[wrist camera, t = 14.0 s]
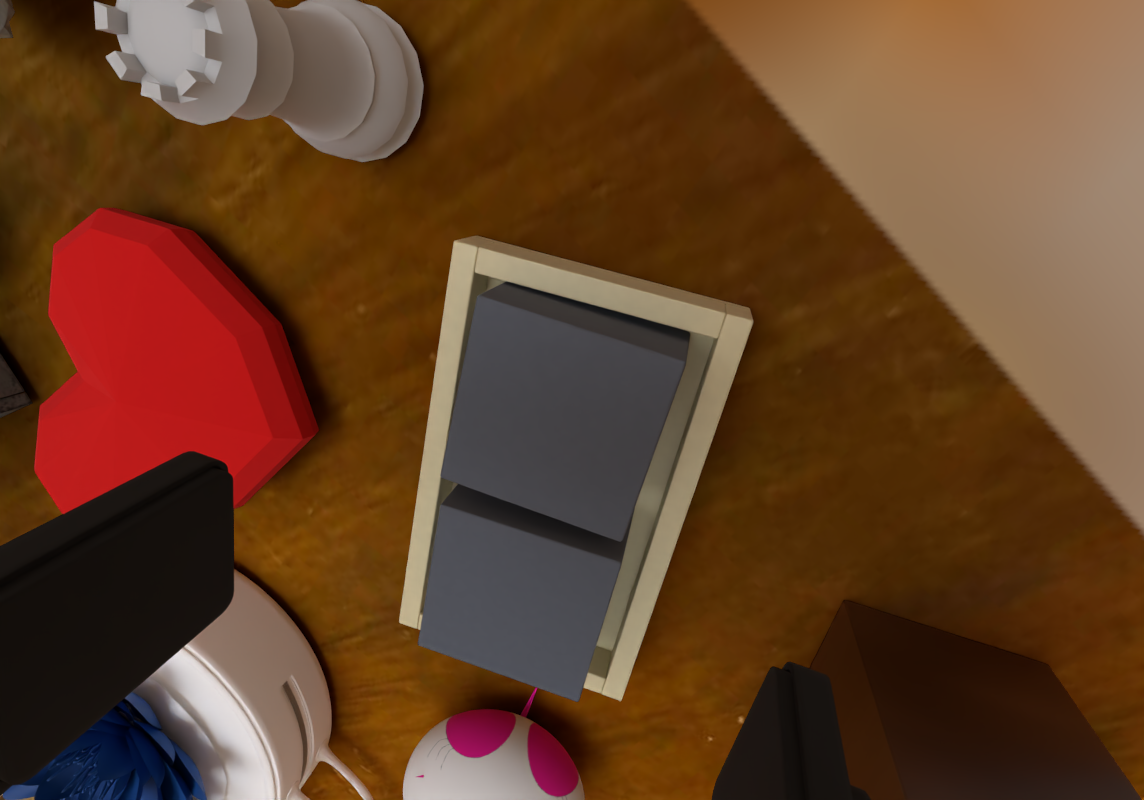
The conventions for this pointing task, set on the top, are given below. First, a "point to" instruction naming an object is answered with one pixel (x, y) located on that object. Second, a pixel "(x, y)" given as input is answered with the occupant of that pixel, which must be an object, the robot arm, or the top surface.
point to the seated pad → (518, 591)
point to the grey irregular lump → (6, 18)
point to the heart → (162, 363)
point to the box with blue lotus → (209, 720)
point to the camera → (10, 391)
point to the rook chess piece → (274, 67)
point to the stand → (956, 718)
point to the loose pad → (562, 405)
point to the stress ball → (491, 760)
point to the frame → (674, 461)
